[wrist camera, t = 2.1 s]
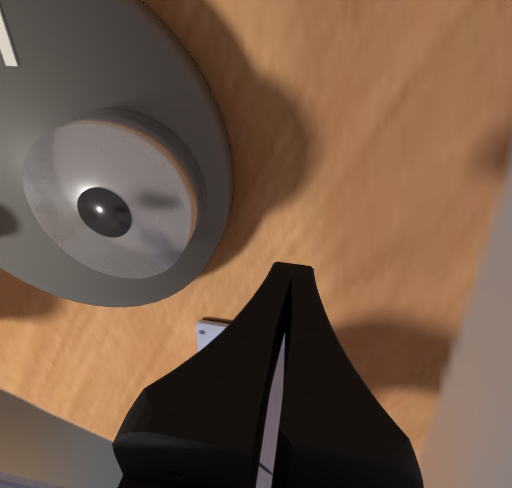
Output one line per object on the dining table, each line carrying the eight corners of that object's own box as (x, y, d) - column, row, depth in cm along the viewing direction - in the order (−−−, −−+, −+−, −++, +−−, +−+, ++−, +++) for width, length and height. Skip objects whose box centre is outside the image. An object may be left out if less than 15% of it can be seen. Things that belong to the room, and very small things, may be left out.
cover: (210, 254, 21) (192, 290, 18) (84, 237, 22) (51, 269, 19) (202, 114, 16) (177, 136, 14) (43, 101, 17) (-8, 119, 15)
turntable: (234, 306, 26) (216, 363, 22) (-11, 269, 28) (-68, 314, 24) (233, -51, 14) (192, -71, 10) (-182, -61, 17) (-347, -80, 13)
